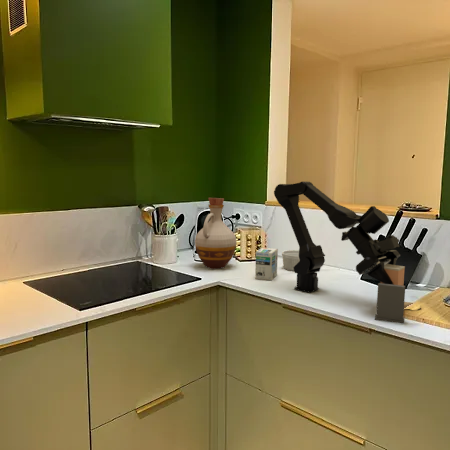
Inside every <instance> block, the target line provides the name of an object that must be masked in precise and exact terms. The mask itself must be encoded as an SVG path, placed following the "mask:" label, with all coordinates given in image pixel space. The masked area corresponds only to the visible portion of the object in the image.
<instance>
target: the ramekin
mask: <svg viewBox="0 0 450 450" xmlns="http://www.w3.org/2000/svg"><path fill="white" fill-rule="evenodd" d="M281 256H282V266H283V268H284V270H287V271H291V272H294V266H295V265H296V264H297V263H298V262H299V261H300V259H299V249H298V250H297V249H296V250H295V249H292V250H290V249H289V250H283V251H282V252H281Z"/></svg>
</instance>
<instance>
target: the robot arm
mask: <svg viewBox="0 0 450 450" xmlns="http://www.w3.org/2000/svg"><path fill="white" fill-rule="evenodd" d="M273 195H274V197H275V199H276V201H277V202H278V204H279V205H280V206H281V207H282V208H283V209H284V210H285V212H286V215H287V218H288V220H289V223H290V225H291V229H292V230H293V233H294V236H295V239H296V242H297V245H298V247H299V249H298V250H299V259H300V261H299V262H298V263H297V264H296V265H295V266H294V271H293V272H294V274H296V286H295V287H294V288H293V289H294V290H296V291H300V292H306V293H312V292H315V291H317V290H320V288H319V277H318V273H317V272H320V271H321V268H322V267H323V266H324V263H325V261H326V259H325V256H326V254H325V253H324V252H323V247H322V246H321V244H319V245H316V244H315V243H314V242H313V240H312V237H311V234H310V232H309V229H308V226H307V224H306V221H305V218H304V216H303V213H302V210H301V208H300V206H299V201H300V196H301V195H303V196H305V197H306V198H307V199H308V200H309V201H311V202H312V203H313V204H314V205H316V207H318V208H319V209H321V210H322V212H324V213H325V214H326V215H327V217H328V220H329V221H330V222H331V223H332V226H334V227H335V228H337V229H339V230H344V229H348V230H347V231H342V233H341V237H340V238H341V241H343V242H344V241H348V240H349V241H350V242H351V244H352V245H353V247H355V250H356V252H355V254H357V255H361V257H362V258H363V259H362V260H361V261H360V262H358V263H357V264H356V266H355V270H356V272H357V273H358V274H359V275H360V276H361V275H364V274H365V275H366V276H369V277H371V278H372V279H375V280H377V281H378V282H379V283H381V282H382V283H384V284H392V285H394V284H393V282H392V280H391V279H390V277H389V276H388V274H387V272H386V271H385V269H384V265H386V264H391V265H397V260H398V258H399V257H401V254H400V253H399V251H398V250H397V249H398V248H400V244H399V243H400V239H399V238H397V236H396V235H394V234H391V235H389V236H386V238H385V239H384V240H381V241H379V240H378V239H373V238H372V236H371V235H372V234H374V235H375V234H377V233H378V232H379V231H380V230H381V229H382V228H384V226H386V225H387V224H388V223H389V222H390V220H389V216H388V215H387V214H386V213H385V212H383V211H381V210H380V209H379V208H377V207H376V206H375V205H373V206H370V207H369V208H368V209H367V210H366V211H365V212H364V213H363V214H362V215H360V214H357V213H356V212H355V211H354V210H352V209H350V208H348V207H346V206H344V205H340V204H338V203H336V202H335V201H334V200H333V199H331V198H330V197H329V196H328V195H327V194H325V193H324V192H323V191H321V190H320V189H319V188H317V187H316V186H315V185H314V184H313V183H312V182H311V181H299V182H297V183H296V182H295V183H279V184H277V185H276V186H275V188H274V191H273ZM370 234H371V235H370ZM366 271H367V272H366Z"/></svg>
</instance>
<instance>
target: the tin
mask: <svg viewBox="0 0 450 450" xmlns="http://www.w3.org/2000/svg"><path fill="white" fill-rule="evenodd" d="M384 269H385V271H386V272H387V274H388V276H389V277H390V279H391V280H392V282H393V284H394V285H402V286H404V281H405V269H406V266H403V265H398V264H396V265H391V264H386V265H384ZM380 283H382V282H380ZM383 284H384V283H383Z"/></svg>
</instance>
